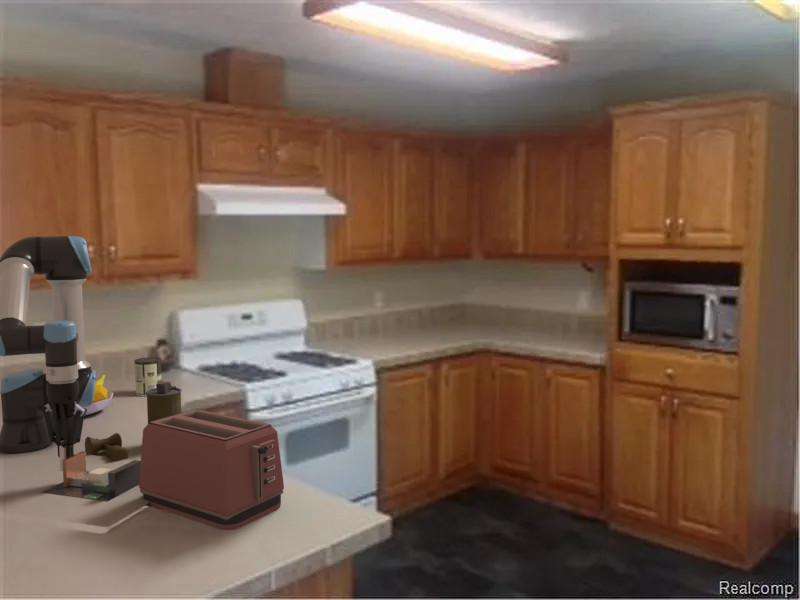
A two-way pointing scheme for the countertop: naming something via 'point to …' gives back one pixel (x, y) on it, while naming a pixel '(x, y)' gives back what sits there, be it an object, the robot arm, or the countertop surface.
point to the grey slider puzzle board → (103, 484)
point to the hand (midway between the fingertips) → (66, 469)
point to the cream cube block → (99, 475)
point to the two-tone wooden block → (75, 470)
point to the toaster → (211, 468)
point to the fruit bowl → (99, 397)
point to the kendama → (107, 447)
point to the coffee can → (147, 374)
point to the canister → (163, 401)
